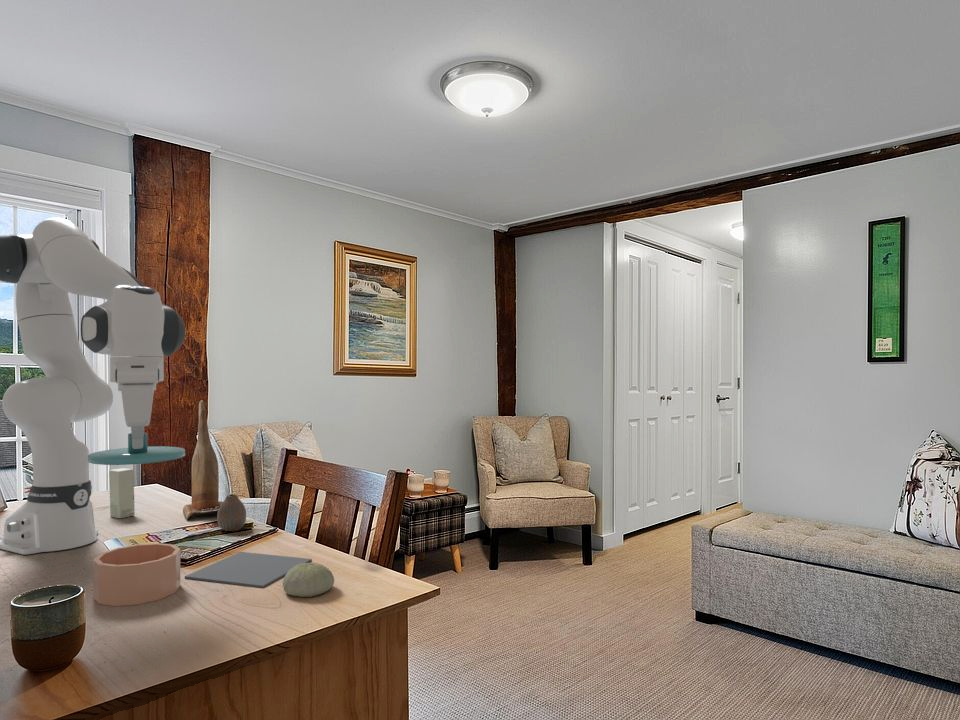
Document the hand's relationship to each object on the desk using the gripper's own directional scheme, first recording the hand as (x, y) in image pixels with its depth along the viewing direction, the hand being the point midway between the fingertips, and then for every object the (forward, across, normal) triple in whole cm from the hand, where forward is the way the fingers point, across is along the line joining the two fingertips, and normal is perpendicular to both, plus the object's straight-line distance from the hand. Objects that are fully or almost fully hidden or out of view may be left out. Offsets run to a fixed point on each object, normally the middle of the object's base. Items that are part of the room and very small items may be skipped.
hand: (137, 446), depth 121 cm
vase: (+27, -38, +21) cm, 51 cm away
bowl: (+27, 0, 0) cm, 27 cm away
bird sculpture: (+27, -58, +17) cm, 67 cm away
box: (+27, -67, -4) cm, 73 cm away
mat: (+27, -3, +20) cm, 34 cm away
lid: (+2, 0, 0) cm, 2 cm away
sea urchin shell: (+27, +14, +28) cm, 42 cm away
